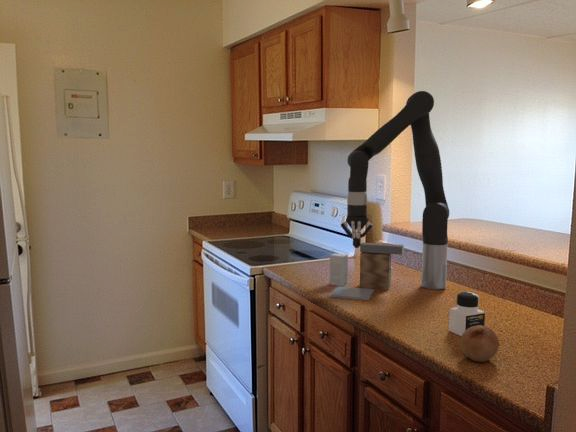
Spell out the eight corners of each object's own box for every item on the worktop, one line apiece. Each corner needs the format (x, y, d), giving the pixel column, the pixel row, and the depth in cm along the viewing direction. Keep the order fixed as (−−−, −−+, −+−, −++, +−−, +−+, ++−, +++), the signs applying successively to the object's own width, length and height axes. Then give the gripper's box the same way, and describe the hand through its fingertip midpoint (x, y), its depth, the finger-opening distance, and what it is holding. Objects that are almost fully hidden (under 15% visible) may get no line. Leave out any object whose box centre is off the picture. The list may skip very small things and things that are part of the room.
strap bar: (403, 252, 203) (403, 244, 203) (402, 254, 200) (402, 246, 199) (361, 250, 208) (362, 242, 208) (360, 252, 205) (360, 244, 204)
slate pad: (373, 291, 201) (374, 289, 201) (368, 300, 189) (368, 298, 189) (337, 288, 205) (337, 286, 205) (330, 296, 194) (330, 294, 194)
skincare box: (347, 284, 211) (348, 254, 210) (343, 286, 208) (343, 256, 206) (334, 282, 214) (334, 252, 213) (329, 284, 211) (329, 254, 209)
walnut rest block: (390, 286, 208) (391, 252, 206) (388, 290, 202) (389, 255, 200) (362, 284, 211) (363, 250, 209) (359, 288, 205) (360, 253, 204)
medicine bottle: (465, 338, 152) (467, 298, 150) (448, 330, 158) (450, 291, 157) (484, 335, 155) (486, 295, 153) (467, 327, 161) (468, 289, 160)
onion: (478, 376, 135) (476, 348, 130) (453, 353, 142) (451, 326, 137) (507, 358, 137) (507, 330, 132) (481, 337, 145) (480, 310, 140)
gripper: (375, 202, 206) (375, 246, 208) (342, 201, 210) (342, 244, 212) (372, 204, 199) (372, 250, 201) (338, 203, 203) (337, 248, 205)
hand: (356, 247), depth 207 cm, fingers closed
